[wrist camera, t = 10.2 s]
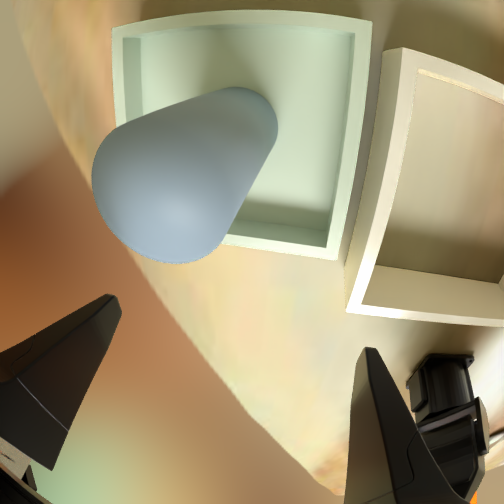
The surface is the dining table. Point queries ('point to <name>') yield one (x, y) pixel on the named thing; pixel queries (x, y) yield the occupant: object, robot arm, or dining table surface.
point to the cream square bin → (380, 203)
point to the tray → (279, 97)
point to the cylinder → (183, 172)
